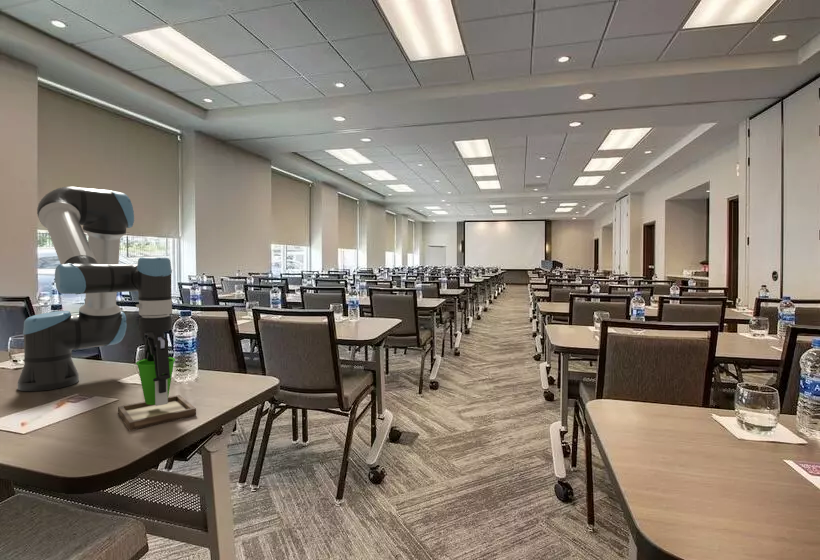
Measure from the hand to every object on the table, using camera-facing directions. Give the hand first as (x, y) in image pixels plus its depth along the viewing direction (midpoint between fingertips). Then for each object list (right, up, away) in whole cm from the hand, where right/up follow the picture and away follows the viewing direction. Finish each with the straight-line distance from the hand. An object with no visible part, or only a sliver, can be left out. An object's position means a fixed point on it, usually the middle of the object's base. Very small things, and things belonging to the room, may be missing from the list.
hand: (156, 399), depth 114 cm
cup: (0, -1, 0) cm, 1 cm away
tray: (0, -4, 0) cm, 4 cm away
